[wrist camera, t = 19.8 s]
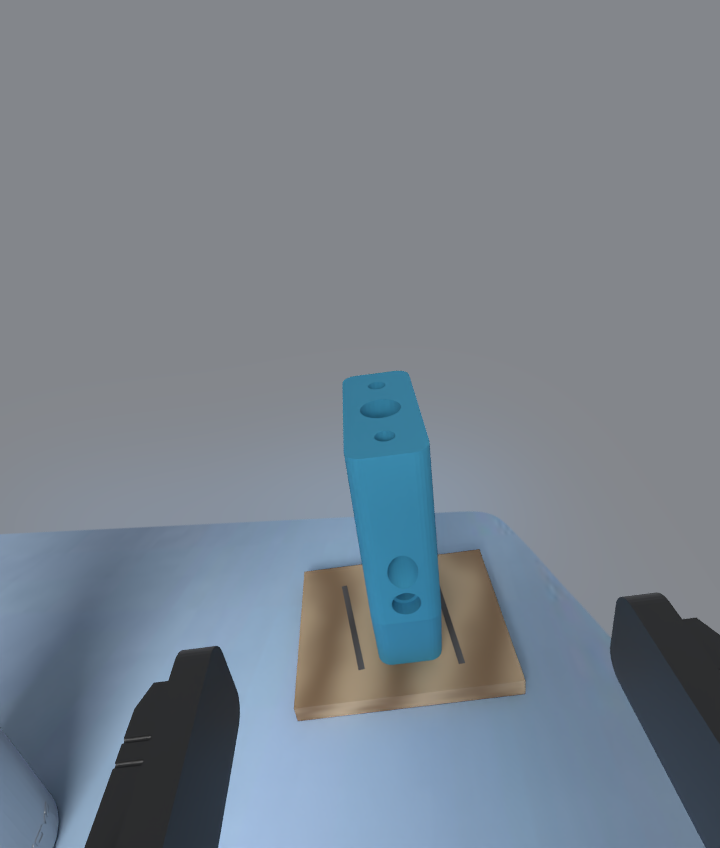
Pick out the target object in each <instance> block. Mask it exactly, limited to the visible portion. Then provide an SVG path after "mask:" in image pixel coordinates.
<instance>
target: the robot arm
mask: <svg viewBox="0 0 720 848" xmlns="http://www.w3.org/2000/svg"><path fill="white" fill-rule="evenodd" d="M610 654H611V660H612V665H613V668H614V671H615V674H616V677H617V679H618V681H619V683H620V685H621V687H622V689H623V691H624V693H625V695H626V696H627V698H628V700H629V702H630V704H631V706H632V708H633V710H634V712H635V714H636V716H637V717H638V719H639V721H640V723H641V725H642V727H643V729H644V731H645V733H646V735H647V737H648V738H649V740H650V742H651V744H652V746H653V748H654V750H655V752H656V754H657V756H658V758H659V759H660V761H661V763H662V765H663V767H664V769H665V771H666V773H667V775H668V777H669V778H670V780H671V782H672V784H673V786H674V788H675V790H676V792H677V794H678V796H679V798H680V799H681V801H682V803H683V805H684V807H685V809H686V811H687V813H688V815H689V817H690V819H691V820H692V822H693V824H694V826H695V828H696V830H697V832H698V834H699V836H700V838H701V840H702V841H703V843H704V845H705V847H706V848H720V635H719V634H718V633H716V632H715V631H714V630H712V629H711V628H709V627H708V626H707V625H706V624H704V623H703V622H701V621H700V620H698V619H697V618H690V619H681V617H680V616H679V614H678V613H677V612H676V611H675V609H674V608H673V606H672V605H671V603H670V602H669V601H668V600H667V598H666V597H665V596H663V595H662V594H660V593H650V594H642V595H634V596H626V597H620V598H618V600H617V602H616V608H615V616H614V623H613V631H612V638H611V645H610ZM239 718H240V705H239V697H238V692H237V689H236V687H235V684H234V681H233V679H232V676H231V674H230V671H229V668H228V666H227V663H226V661H225V658H224V655H223V653H222V650H221V649H220V647H218V646H213V647H205V648H197V649H189V650H182V651H180V652H179V653H178V655H177V657H176V659H175V662H174V665H173V668H172V671H171V674H170V677H169V681H165V682H156V683H153V685H152V686H151V687H150V689H149V690H148V691H147V693H146V694H145V695H144V697H143V698H142V699H141V701H140V702H139V704H138V705H137V706H136V708H135V709H134V712H133V714H132V717H131V720H130V723H129V726H128V728H127V731H126V734H125V737H124V744H122V745H121V748H120V751H119V753H118V756H117V759H116V762H115V764H116V766H115V769H113V770H112V773H111V775H110V778H109V781H108V784H107V787H106V789H105V792H104V795H103V798H102V800H101V803H100V806H99V809H98V812H97V814H96V817H95V820H94V823H93V825H92V828H91V831H90V834H89V836H88V839H87V842H86V845H85V848H218V844H219V839H220V833H221V827H222V821H223V815H224V809H225V803H226V798H227V792H228V786H229V780H230V774H231V768H232V762H233V756H234V751H235V745H236V739H237V733H238V727H239ZM58 824H59V818H58V808H57V805H56V803H55V801H54V798H53V797H52V795H51V794H50V793H49V791H48V790H47V789H46V787H45V786H44V785H43V783H42V782H41V781H40V780H39V778H38V777H37V776H36V774H35V773H34V772H33V770H32V769H31V768H30V766H29V765H28V763H27V762H26V761H25V759H24V758H23V757H22V755H21V754H20V753H19V751H18V750H17V749H16V747H15V746H14V745H13V743H12V742H11V741H10V739H9V738H8V737H7V736H6V734H5V733H4V732H3V730H2V729H1V728H0V848H53V847H54V844H55V841H56V838H57V831H58Z"/></svg>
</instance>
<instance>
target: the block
mask: <svg viewBox="0 0 720 848" xmlns="http://www.w3.org/2000/svg"><path fill="white" fill-rule="evenodd" d="M343 429H344V430H343V431H344V432H343V435H344V456H345V462H346V468H347V475H348V481H349V486H350V493H351V499H352V505H353V511H354V517H355V524H356V530H357V536H358V542H359V548H360V554H361V560H362V566H363V572H364V579H365V585H366V591H367V597H368V603H369V609H370V615H371V620H372V625H373V630H374V634H375V639H376V644H377V649H378V654H379V658H380V660H381V661H382V662H383V663H385V664H388V665H395V664H404V663H413V662H421V661H430V660H434V659H436V658H438V657H439V656H440V654H441V651H442V623H441V596H440V582H439V568H438V554H437V541H436V527H435V513H434V500H433V485H432V473H431V458H430V444H429V439H428V436H427V432H426V429H425V426H424V422H423V419H422V416H421V413H420V409H419V406H418V403H417V400H416V396H415V393H414V390H413V386H412V383H411V380H410V377H409V374H408V373H407V372H404V371H391V372H384V373H376V374H369V375H360V376H353V377H350V378H347V379H345V380H344V381H343Z"/></svg>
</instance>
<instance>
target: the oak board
mask: <svg viewBox="0 0 720 848" xmlns="http://www.w3.org/2000/svg"><path fill="white" fill-rule="evenodd" d="M438 568H439V582H440V596H441V623H442V651H441V654H440V656H439V657H438V658H436V659H434V660H430V661H421V662H413V663H404V664H395V665H388V664H385V663H383V662H382V661H381V660H380V658H379V654H378V649H377V644H376V639H375V634H374V630H373V625H372V620H371V615H370V609H369V603H368V597H367V591H366V585H365V579H364V572H363V566H362V564H361V565H354V566H346V567H338V568H330V569H322V570H315V571H307V572H305V573H304V586H303V599H302V612H301V625H300V638H299V650H298V663H297V676H296V689H295V702H294V710H295V714H296V717H297V720H298V721H303V720H311V719H320V718H328V717H336V716H345V715H353V714H361V713H370V712H378V711H386V710H395V709H403V708H411V707H420V706H428V705H436V704H445V703H453V702H461V701H470V700H478V699H486V698H495V697H503V696H511V695H520V694H525V678H524V675H523V672H522V669H521V667H520V664H519V661H518V658H517V655H516V652H515V649H514V647H513V644H512V641H511V638H510V635H509V632H508V629H507V627H506V624H505V621H504V618H503V615H502V612H501V610H500V607H499V604H498V601H497V598H496V595H495V592H494V590H493V587H492V584H491V581H490V578H489V575H488V572H487V570H486V567H485V564H484V561H483V558H482V555H481V552H480V550H479V549H478V550H470V551H463V552H455V553H447V554H439V555H438Z"/></svg>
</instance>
